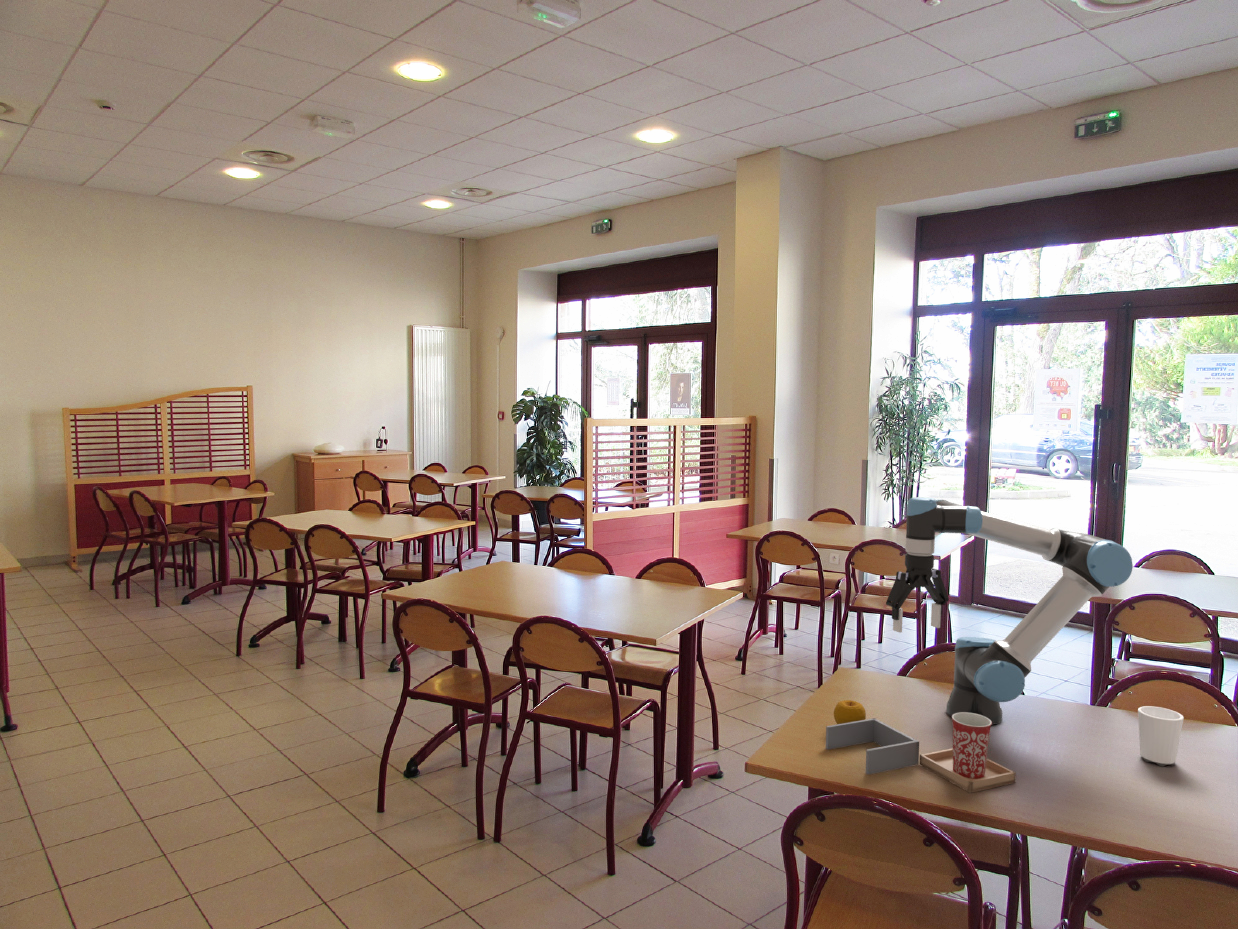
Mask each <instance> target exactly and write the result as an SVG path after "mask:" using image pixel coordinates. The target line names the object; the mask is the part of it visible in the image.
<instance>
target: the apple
mask: <svg viewBox="0 0 1238 929" xmlns="http://www.w3.org/2000/svg"><path fill="white" fill-rule="evenodd" d="M866 714H867V712H866V708H864V705H863V704H862V703H860V702H859V701H855V700H852V699H850V700H849V699H847V700H846V699H844V700H841V701H839V702H837V704H836V705H835V708H834V710H833V718H834V720H835V723H836V725H837V724H843V723H849V722H855V721H861V720H867V719H866V718H867V715H866Z"/></svg>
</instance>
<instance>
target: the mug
mask: <svg viewBox="0 0 1238 929" xmlns="http://www.w3.org/2000/svg"><path fill="white" fill-rule="evenodd" d="M951 720H952V748H953V770H954V772H955V773H957V774H959V775H961V776H963V777H966V778H972V779H979V778H982V777H984V776H985V770H986V760H987V759H988V751H989V744H990V735H991V726H992V725H993V724H992V721H991V720H990V719H988V718H987V717H985V716H982V715H979V714H974V713H967V712H960V713H955V714H953V715H952V717H951Z"/></svg>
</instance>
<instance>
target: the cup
mask: <svg viewBox="0 0 1238 929" xmlns="http://www.w3.org/2000/svg"><path fill="white" fill-rule="evenodd" d="M1137 718H1138V738H1139V755H1140V756H1141V757H1142V759H1143V760H1144V762H1146V763H1155V764H1156V765H1157V766H1159V767H1165V766H1167V765H1168V766H1173V767H1174V765H1175V764H1176V762H1177V756H1178V750H1179V746H1180V740H1181V734H1182V728H1183V723H1184V720H1185V719H1184V715H1183V714H1181V713H1179V712H1178V711H1175V710H1172V709H1169V708H1165V707H1161V706H1152V705H1145V706H1144V705H1143V706H1140V707H1138V709H1137Z"/></svg>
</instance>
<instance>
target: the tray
mask: <svg viewBox="0 0 1238 929" xmlns="http://www.w3.org/2000/svg"><path fill="white" fill-rule="evenodd" d="M918 765H919V766H921V767H923V768H925V769H927V770H929V771H930V772H932V773H934V774H936V775H938V776H939V777H941V778H943V779H944V780H947V781H948V782H950V783H951V784H953V785H956V786H957V787H959V788H961V789H963V790H965V791H966V792H968V793H969V794H970V793H975V792H979V791H984V790H988V789H989V790H990V789H993V788H998V787H1003V786H1006V785H1011V784H1016V778H1017V777H1016V772H1015V771H1013V770H1011V769H1009V768H1007V767H1005V766H1003V765H1002V764H999V763H997V762H995V761H993V760H992V759H989V758H987V760H986V770H985V776H984V777H982V778H979V779H972V778H966V777H963V776H961V775H959V774H957V773H955V772H954V770H953V747H952V748H948V749H947V748H946V749H943V750H942V749H941V750H938V751H937V750H936V751H932V752H928V753H922V754H919V763H918Z"/></svg>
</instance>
